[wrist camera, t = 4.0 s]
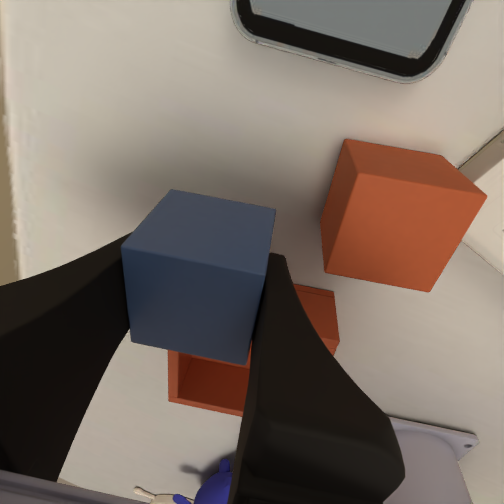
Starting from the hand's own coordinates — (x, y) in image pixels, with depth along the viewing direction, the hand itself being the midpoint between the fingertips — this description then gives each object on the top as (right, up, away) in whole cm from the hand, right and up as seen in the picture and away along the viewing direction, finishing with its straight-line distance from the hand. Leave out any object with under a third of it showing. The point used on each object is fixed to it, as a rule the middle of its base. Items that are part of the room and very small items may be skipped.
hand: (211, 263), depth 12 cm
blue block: (0, +1, +1) cm, 1 cm away
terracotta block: (+7, +3, +2) cm, 8 cm away
